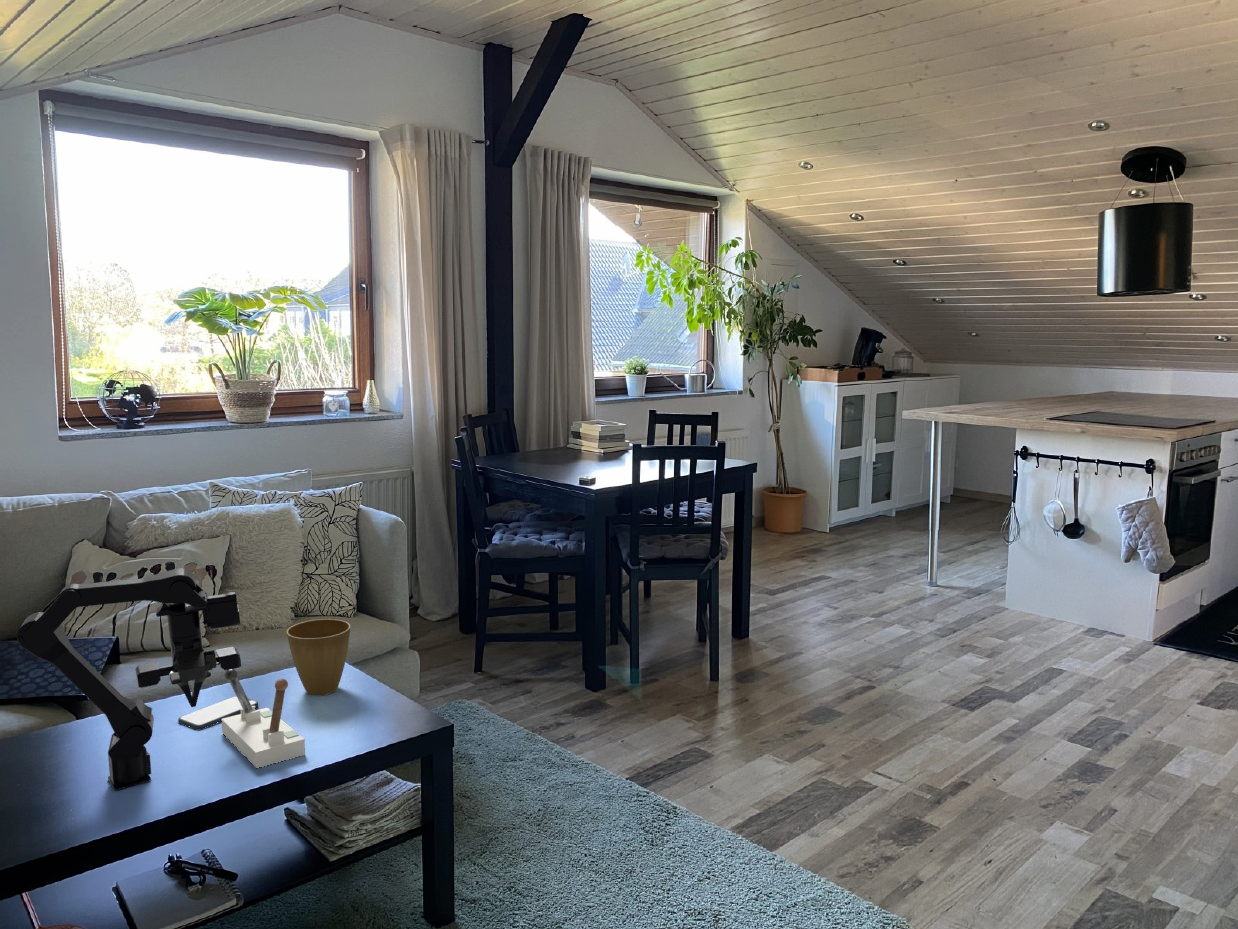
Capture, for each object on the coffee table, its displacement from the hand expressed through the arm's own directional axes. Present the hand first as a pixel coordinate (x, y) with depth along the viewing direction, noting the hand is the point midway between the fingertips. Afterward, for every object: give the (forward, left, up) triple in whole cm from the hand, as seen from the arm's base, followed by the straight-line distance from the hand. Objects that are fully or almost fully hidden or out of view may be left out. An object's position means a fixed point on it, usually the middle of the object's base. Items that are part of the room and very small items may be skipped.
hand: (193, 706), depth 190 cm
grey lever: (+14, +9, -8) cm, 19 cm away
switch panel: (+14, +2, -13) cm, 19 cm away
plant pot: (+36, +24, -13) cm, 45 cm away
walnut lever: (+14, -5, -8) cm, 17 cm away
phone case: (+12, +25, -14) cm, 31 cm away
